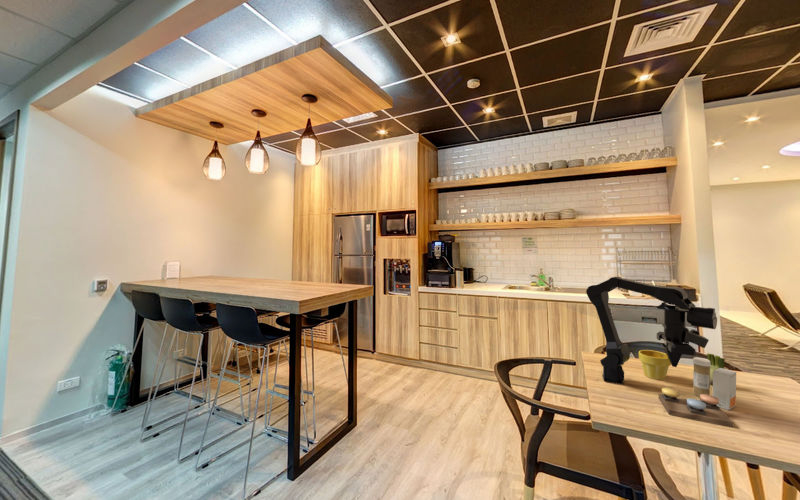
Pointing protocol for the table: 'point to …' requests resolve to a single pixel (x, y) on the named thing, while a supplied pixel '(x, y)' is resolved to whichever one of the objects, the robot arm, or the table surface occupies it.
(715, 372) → the skincare box
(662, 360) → the plant pot
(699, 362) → the sprinkles bottle
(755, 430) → the table surface
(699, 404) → the slate-blue button
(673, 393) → the ochre button
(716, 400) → the terracotta button
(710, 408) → the board
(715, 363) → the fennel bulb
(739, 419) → the table surface
